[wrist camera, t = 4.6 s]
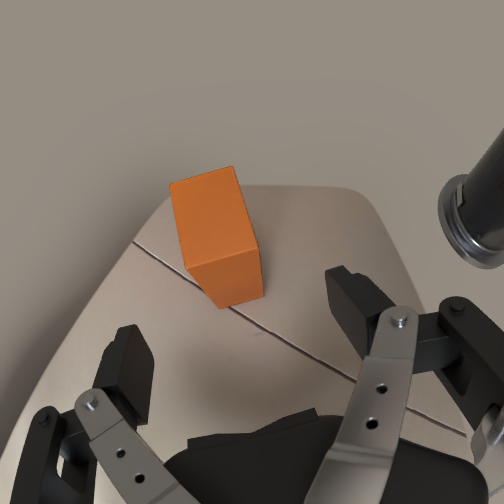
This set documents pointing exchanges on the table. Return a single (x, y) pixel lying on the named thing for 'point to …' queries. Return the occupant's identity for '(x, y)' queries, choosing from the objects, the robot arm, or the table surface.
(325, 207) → the table surface
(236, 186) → the orange lidded gift box
